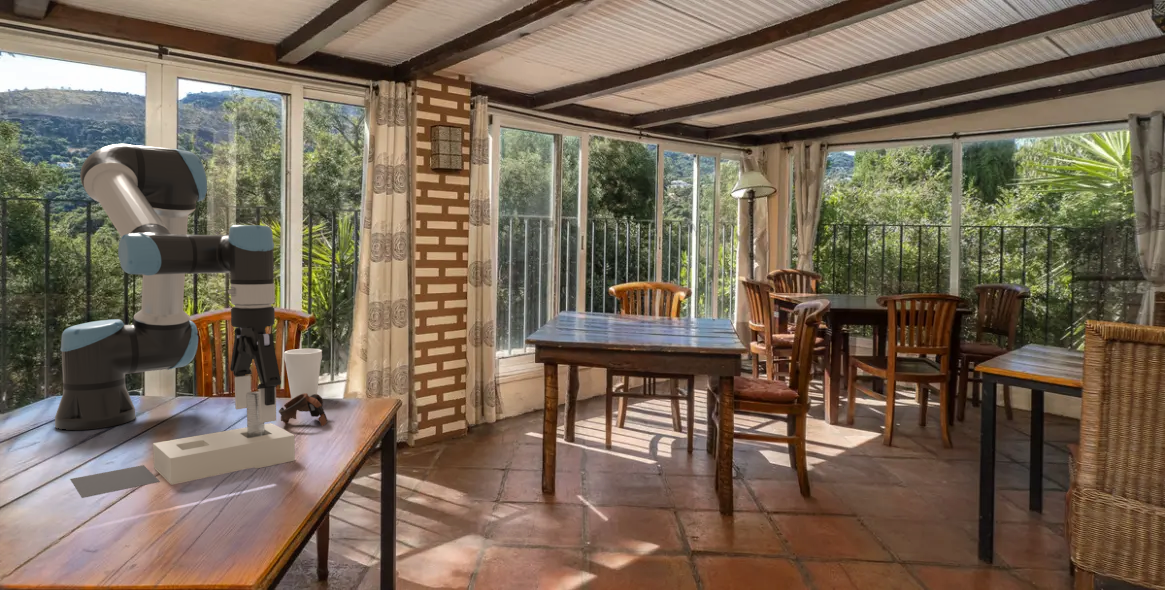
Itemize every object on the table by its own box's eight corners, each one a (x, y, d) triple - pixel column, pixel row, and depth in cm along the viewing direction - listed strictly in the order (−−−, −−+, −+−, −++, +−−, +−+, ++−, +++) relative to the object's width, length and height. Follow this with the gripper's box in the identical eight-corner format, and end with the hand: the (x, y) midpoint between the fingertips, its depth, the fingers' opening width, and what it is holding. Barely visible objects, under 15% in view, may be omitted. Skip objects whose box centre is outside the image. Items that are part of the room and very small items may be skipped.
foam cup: (299, 404, 175) (298, 355, 174) (277, 399, 180) (276, 351, 179) (330, 397, 183) (329, 350, 182) (308, 393, 188) (307, 347, 187)
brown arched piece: (322, 432, 152) (301, 402, 149) (287, 448, 153) (266, 419, 151) (341, 406, 163) (322, 379, 161) (309, 421, 165) (290, 394, 162)
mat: (70, 481, 117) (70, 478, 117) (143, 467, 125) (143, 464, 125) (82, 500, 109) (81, 497, 109) (160, 483, 117) (160, 481, 117)
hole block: (153, 469, 124) (153, 443, 123) (271, 446, 138) (271, 423, 138) (171, 486, 115) (170, 458, 115) (294, 460, 130) (294, 435, 130)
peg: (246, 458, 131) (244, 393, 130) (262, 455, 133) (260, 390, 132) (251, 462, 128) (249, 395, 127) (267, 459, 131) (265, 393, 130)
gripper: (211, 302, 135) (214, 405, 136) (255, 312, 117) (258, 431, 119) (250, 300, 140) (253, 400, 142) (298, 309, 122) (300, 424, 124)
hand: (255, 414), depth 130 cm, fingers open, 13 cm apart
